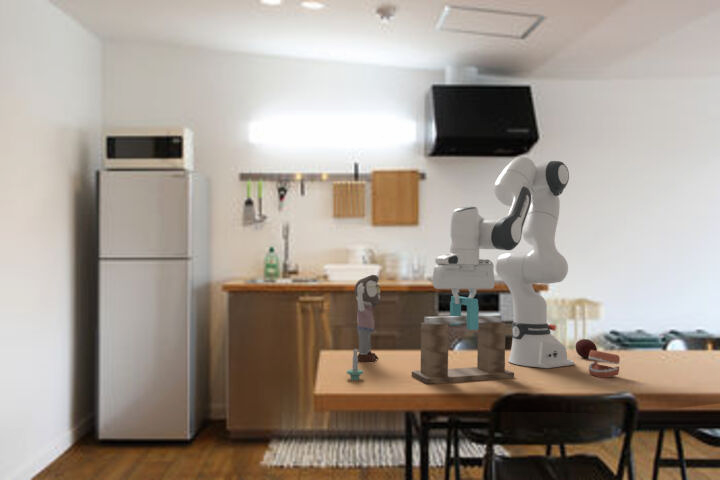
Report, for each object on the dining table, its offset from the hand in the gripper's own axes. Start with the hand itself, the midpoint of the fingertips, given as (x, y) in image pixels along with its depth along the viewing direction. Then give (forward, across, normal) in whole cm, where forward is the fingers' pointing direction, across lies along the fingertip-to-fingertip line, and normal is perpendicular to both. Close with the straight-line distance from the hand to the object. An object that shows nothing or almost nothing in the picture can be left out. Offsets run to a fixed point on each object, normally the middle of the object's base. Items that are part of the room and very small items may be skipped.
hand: (463, 303), depth 158 cm
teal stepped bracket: (+7, 0, 0) cm, 7 cm away
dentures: (+22, -44, +10) cm, 50 cm away
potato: (+22, -61, -14) cm, 67 cm away
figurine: (+23, +21, -30) cm, 43 cm away
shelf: (+22, 0, 0) cm, 22 cm away
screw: (+23, +33, -6) cm, 40 cm away
